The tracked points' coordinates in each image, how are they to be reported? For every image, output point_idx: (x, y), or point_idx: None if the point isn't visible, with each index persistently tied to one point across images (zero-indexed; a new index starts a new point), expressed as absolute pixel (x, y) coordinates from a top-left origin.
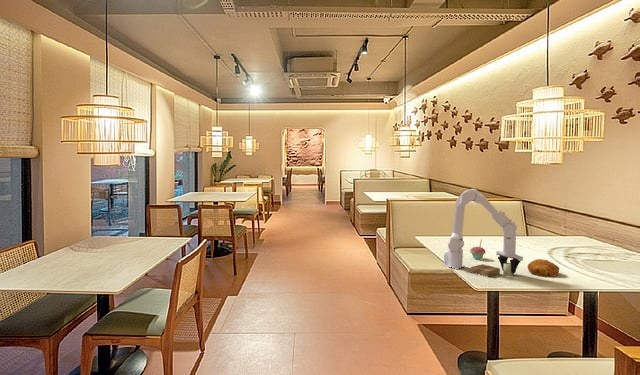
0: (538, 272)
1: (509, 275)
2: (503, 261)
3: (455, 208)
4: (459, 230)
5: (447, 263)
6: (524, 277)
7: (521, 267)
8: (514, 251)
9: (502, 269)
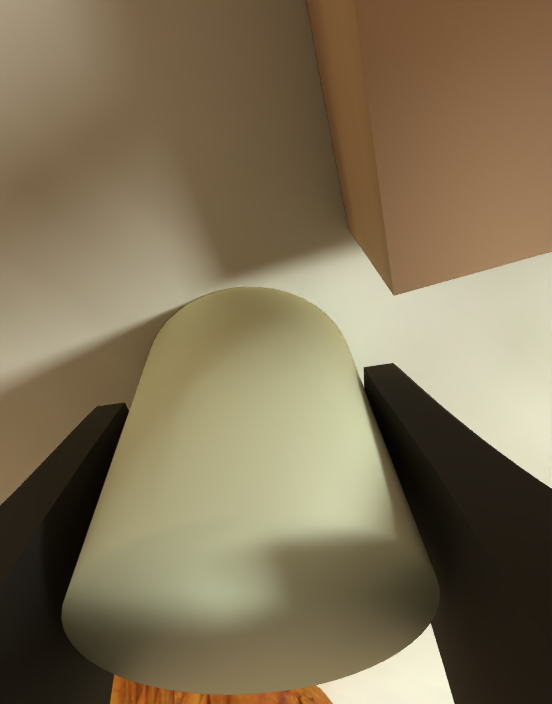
0: None
1: (156, 338)
2: (489, 636)
3: None
4: None
5: None
6: (13, 484)
7: (435, 645)
8: None
9: (388, 374)
